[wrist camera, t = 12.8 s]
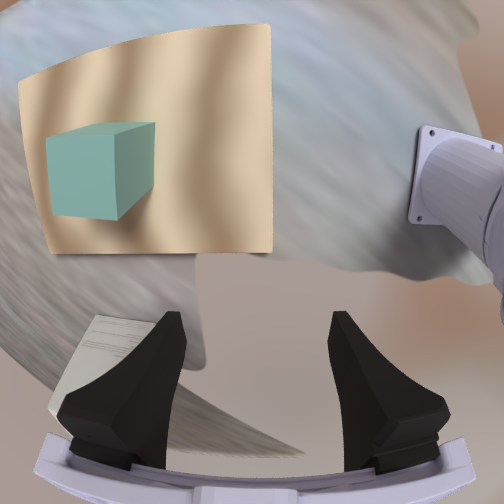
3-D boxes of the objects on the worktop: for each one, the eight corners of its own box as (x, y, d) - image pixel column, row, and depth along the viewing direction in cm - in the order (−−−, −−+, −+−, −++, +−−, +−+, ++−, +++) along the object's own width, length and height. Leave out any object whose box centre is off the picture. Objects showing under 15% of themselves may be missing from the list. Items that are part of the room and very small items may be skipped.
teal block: (155, 121, 17) (114, 134, 12) (153, 185, 19) (117, 220, 14) (97, 123, 17) (45, 138, 12) (99, 182, 19) (53, 214, 14)
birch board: (269, 29, 15) (270, 23, 14) (271, 243, 23) (272, 252, 22) (29, 80, 16) (18, 82, 15) (58, 246, 24) (50, 254, 22)
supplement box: (111, 357, 31) (75, 443, 20) (95, 311, 28) (43, 406, 17) (167, 367, 31) (142, 463, 20) (158, 321, 28) (120, 432, 17)
